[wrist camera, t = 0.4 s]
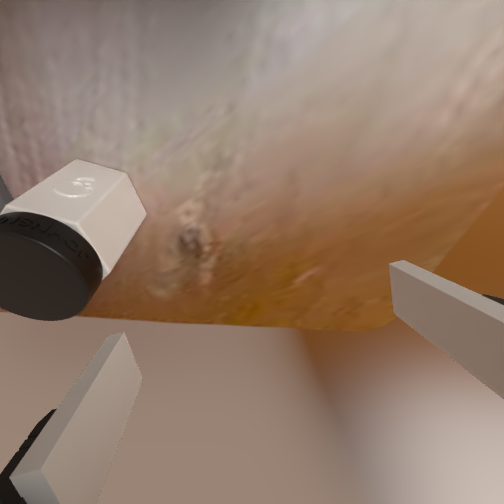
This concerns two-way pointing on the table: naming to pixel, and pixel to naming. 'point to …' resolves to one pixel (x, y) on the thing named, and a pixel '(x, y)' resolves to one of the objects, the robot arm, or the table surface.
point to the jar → (65, 239)
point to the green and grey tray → (4, 195)
